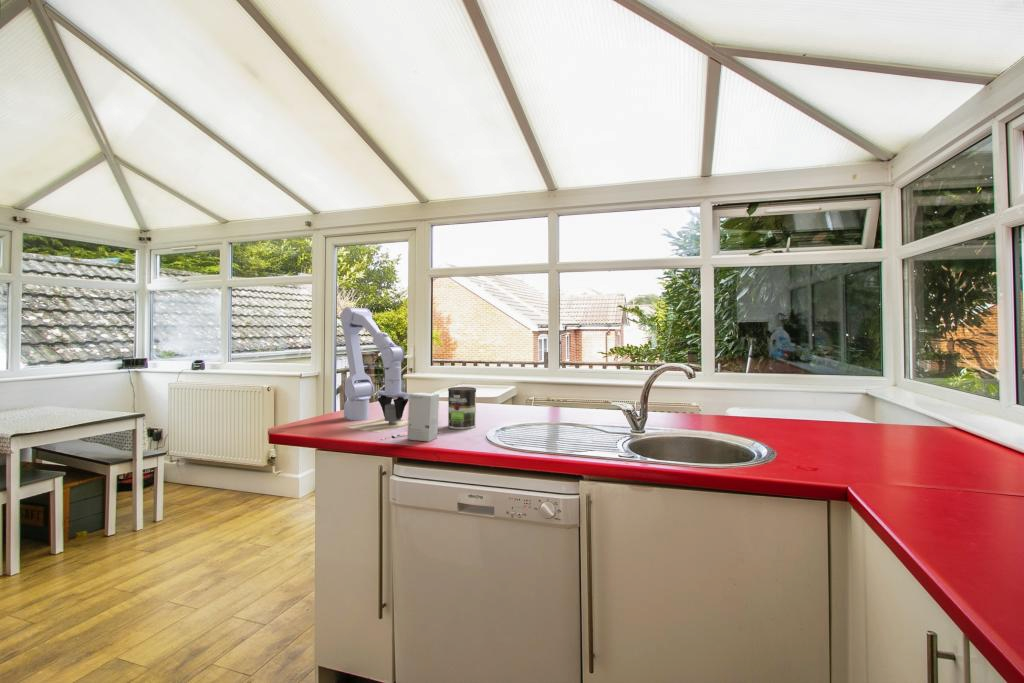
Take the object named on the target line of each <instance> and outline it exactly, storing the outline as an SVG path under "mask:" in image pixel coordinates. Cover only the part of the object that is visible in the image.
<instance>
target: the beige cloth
mask: <svg viewBox="0 0 1024 683" xmlns="http://www.w3.org/2000/svg"><path fill="white" fill-rule="evenodd" d="M341 427H342V428H346V429H354V430H358V431H359V430H360V431H365V432H371V433H380V432H381V433H382V432H385V431H390V430H394V429H398V428H403V427H408V419H407V420H406V419H401V420H400V421H397V424H396V425H389V421H385V417H383V418H377V419H372V420H367V421H363V422H356V423H353V424H347V425H343V426H341Z"/></svg>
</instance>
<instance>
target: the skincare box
mask: <svg viewBox="0 0 1024 683" xmlns="http://www.w3.org/2000/svg"><path fill="white" fill-rule="evenodd" d="M439 401H440V394H437V393H430V392H429V393H428V392H413V393H410V394H409V399H408V418H407V420H408V425H407V440H408V441H409V440H410V441H420V442H432V441H434V440H437V439H438V430H439V428H438V427H439V426H438V425H439V405H440V402H439Z"/></svg>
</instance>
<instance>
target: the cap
mask: <svg viewBox="0 0 1024 683" xmlns="http://www.w3.org/2000/svg"><path fill="white" fill-rule="evenodd" d="M384 418H385V421H389V422H392V421H400V420H402V418H400V419H397V418H396V409H395V404H394V403H391V404H386V405H385V417H384Z"/></svg>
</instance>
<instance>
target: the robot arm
mask: <svg viewBox="0 0 1024 683" xmlns="http://www.w3.org/2000/svg"><path fill="white" fill-rule="evenodd" d="M339 317H340V322H341V329H342V331H343V338H344V346H345V351H346V358H347V362H348V369H349V370H348V371H349V376H348V377H347V378H346V379H345V380H344V396H345V398H347V399H346V400H345V402H344V403H343V419H345V420H349V421H365V420H368V419H370V399H372V396H373V395H374V393H375V392H374V391H375V387H374V383H373V382H372V379H371V378H372V377H371V376H370V375H368V374H367V373H366V372H365V367H364V362H363V361H364V360H363V354H362V348H361V343H360V336H359V333H360V332H361V331H362V330H364V329H365V331H367V332H368V333H369V334H370V336H371V337H372V343H373V344H374V346H376V348H377V350H379V352H380V353H381V354H380V359H381V360H382V363H383V364H382V366H383V368H384V390H383V389H382V390H376V397H377V401H378V402H379V405H380V407H381V409H382V412H383V416H384V417H383V418H385V405H386V404H392V402H393V404H395V409H396V418H397V419H400V418H401V419H403V415H404V411H405V408H406V406H407V404H408V403H409V394H411V393H409V392H405V391H402V362H403V361H404V359H405V355H406V354H405V350H404V348H403V346H401V345H397V344H395V342H394V341H393V340H392V338H390V336H389V334H388V333H387V332H385V331H381V330H380V328H379V326H378V325H377V323H376V322H375V320H374V319H373V312H371V310H370V309H369V308H367V307H349V306H346V307H344V308H343V309H342V310H341V313H340V316H339Z"/></svg>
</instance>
